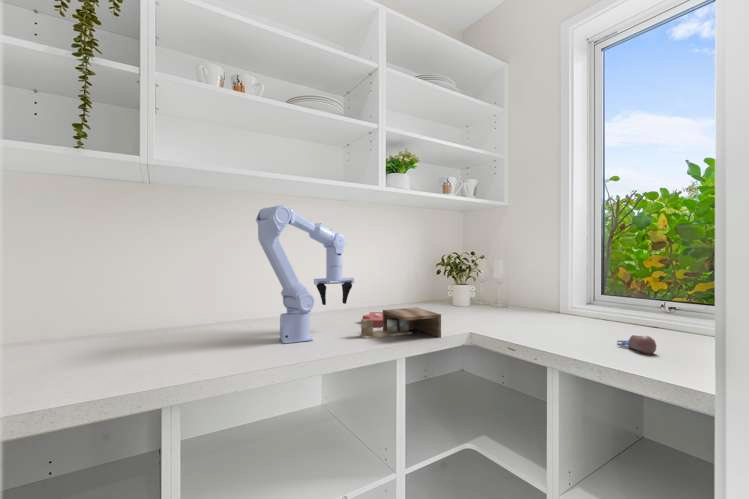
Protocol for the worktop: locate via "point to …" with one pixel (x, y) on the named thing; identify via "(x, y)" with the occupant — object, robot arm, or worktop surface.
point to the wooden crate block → (415, 319)
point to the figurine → (640, 344)
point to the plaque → (375, 319)
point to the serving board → (391, 331)
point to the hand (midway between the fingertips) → (334, 303)
